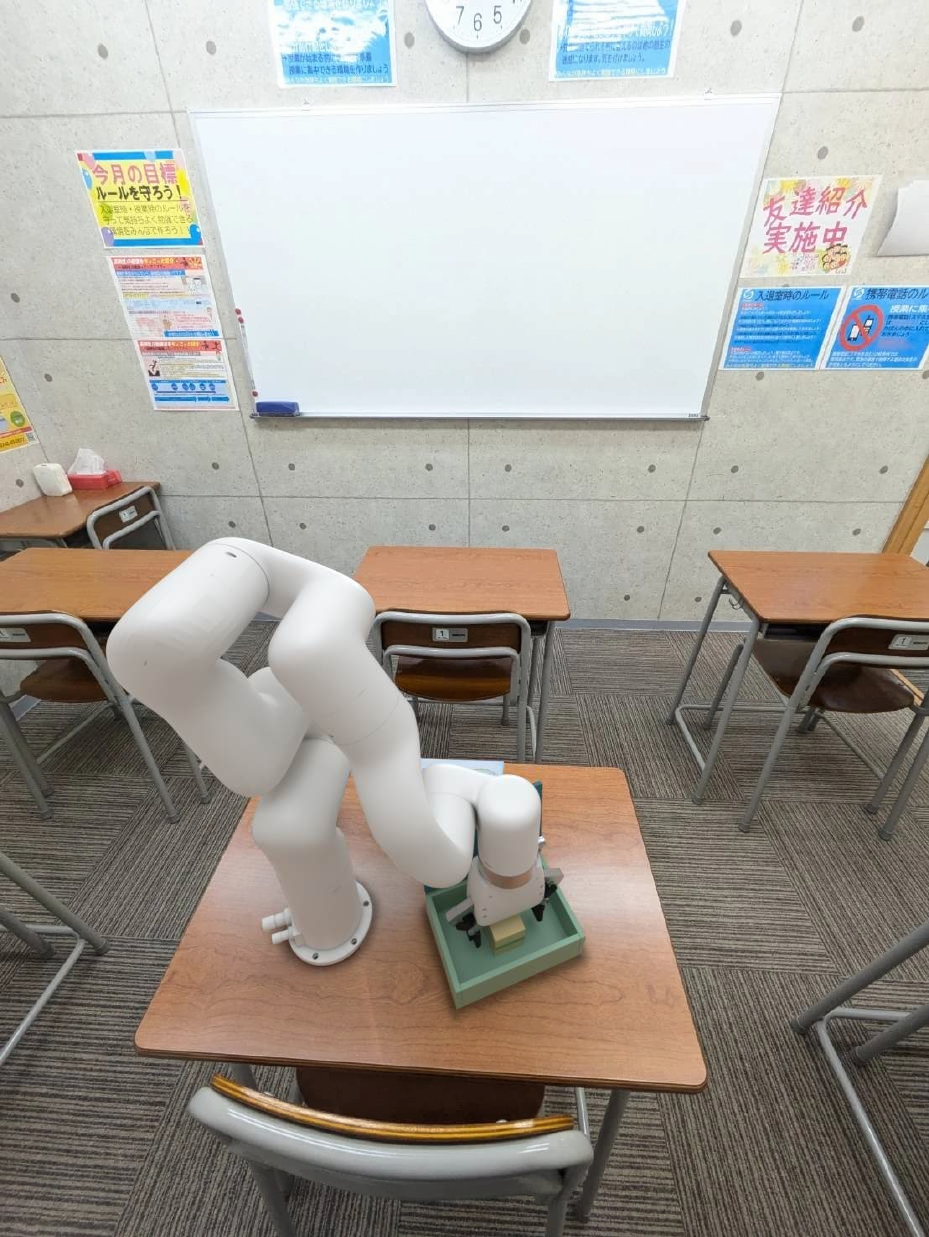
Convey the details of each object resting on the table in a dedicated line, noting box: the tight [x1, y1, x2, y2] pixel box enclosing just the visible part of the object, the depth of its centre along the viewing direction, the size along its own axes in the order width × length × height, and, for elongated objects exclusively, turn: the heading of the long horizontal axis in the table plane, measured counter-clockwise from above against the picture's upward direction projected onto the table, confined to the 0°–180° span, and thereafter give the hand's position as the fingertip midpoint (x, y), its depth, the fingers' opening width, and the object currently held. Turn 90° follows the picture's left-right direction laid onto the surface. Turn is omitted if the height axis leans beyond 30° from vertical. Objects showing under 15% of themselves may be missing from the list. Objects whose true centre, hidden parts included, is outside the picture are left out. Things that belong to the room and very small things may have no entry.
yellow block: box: [483, 913, 525, 957], centre depth 75 cm, size 5×6×5 cm
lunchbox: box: [424, 851, 587, 1010], centre depth 75 cm, size 14×19×6 cm
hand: (505, 924), depth 75 cm, fingers open, 9 cm apart
